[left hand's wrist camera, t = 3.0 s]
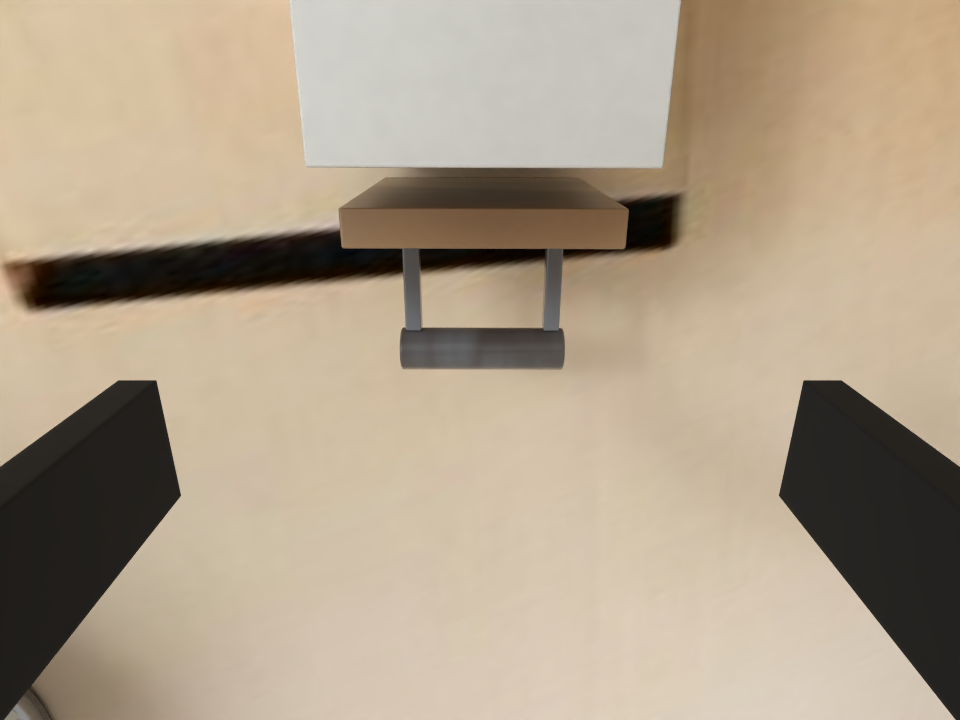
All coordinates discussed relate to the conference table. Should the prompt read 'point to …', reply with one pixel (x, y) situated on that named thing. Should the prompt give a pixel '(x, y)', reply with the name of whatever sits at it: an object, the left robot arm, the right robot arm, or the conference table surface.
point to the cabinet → (484, 82)
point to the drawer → (483, 225)
